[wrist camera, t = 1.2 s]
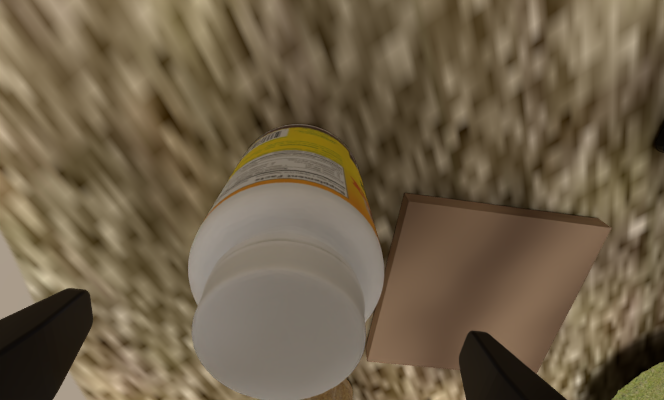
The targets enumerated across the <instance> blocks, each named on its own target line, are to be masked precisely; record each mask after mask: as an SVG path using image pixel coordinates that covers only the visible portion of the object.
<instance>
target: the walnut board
mask: <svg viewBox="0 0 664 400" xmlns="http://www.w3.org/2000/svg"><path fill="white" fill-rule="evenodd" d="M611 229H612V228H611V227H609V226H608V225H607V224H605V223H604V222H602V221H601V220H599V219H598V218H590V217H583V216H575V215H568V214H560V213H553V212H545V211H538V210H530V209H522V208H515V207H507V206H500V205H492V204H485V203H477V202H470V201H462V200H455V199H447V198H440V197H432V196H425V195H417V194H410V193H404V197H403V201H402V205H401V209H400V213H399V217H398V221H397V225H396V229H395V233H394V237H393V241H392V245H391V248H390V252H389V256H388V260H387V264H386V268H385V272H384V283H383V289H382V292H381V295H380V298H379V301H378V303H377V305H376V308H375V312H374V316H373V320H372V324H371V328H370V332H369V336H368V340H367V344H366V355H367V361H370V362H380V363H391V364H402V365H412V366H423V367H434V368H445V369H455V370H460V367H459V354H460V352H461V349H462V346H463V344H464V341H465V339H466V336H467V334H468V333H469V332H470V331H483V332H487V333H488V334H490V335H491V336H492V337H493V338H495V339H496V340H497V341H498V342H499V343H500V344H502V345H503V346H504V347H505V348H506V349H508V350H509V351H510V352H511V353H512V354H513V355H515V356H516V357H517V358H518V359H519V360H521V361H522V362H523V363H524V364H525V365H526V366H528V367H529V368H530V369H531V370H532V371H534V372H535V373H536V374H537V372H538V370H539V368H540V366H541V364H542V362H543V360H544V358H545V356H546V354H547V352H548V350H549V349H550V347H551V345H552V343H553V341H554V339H555V337H556V335H557V333H558V331H559V329H560V327H561V325H562V323H563V321H564V320H565V318H566V316H567V314H568V312H569V310H570V308H571V306H572V304H573V302H574V300H575V298H576V296H577V294H578V292H579V291H580V289H581V287H582V285H583V283H584V281H585V279H586V277H587V275H588V273H589V271H590V269H591V267H592V265H593V263H594V262H595V260H596V258H597V256H598V254H599V252H600V250H601V248H602V246H603V244H604V242H605V240H606V238H607V236H608V235H609V233H610V231H611Z"/></svg>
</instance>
